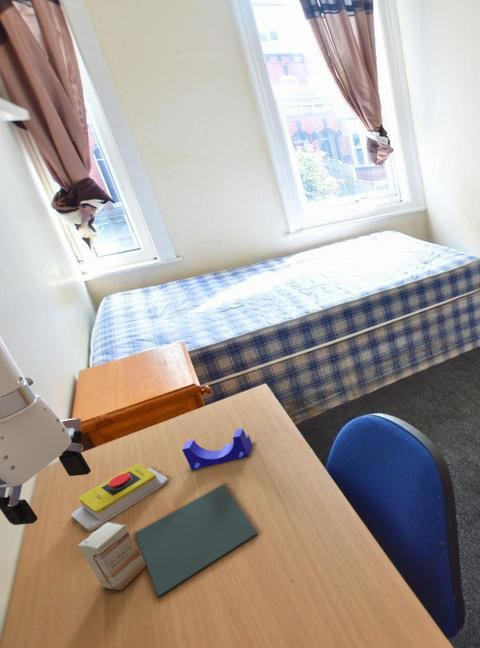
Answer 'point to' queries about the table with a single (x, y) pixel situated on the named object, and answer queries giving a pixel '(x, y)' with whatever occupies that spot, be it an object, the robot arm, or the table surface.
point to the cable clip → (230, 452)
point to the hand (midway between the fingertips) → (55, 496)
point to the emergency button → (117, 495)
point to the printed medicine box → (112, 555)
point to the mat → (193, 538)
